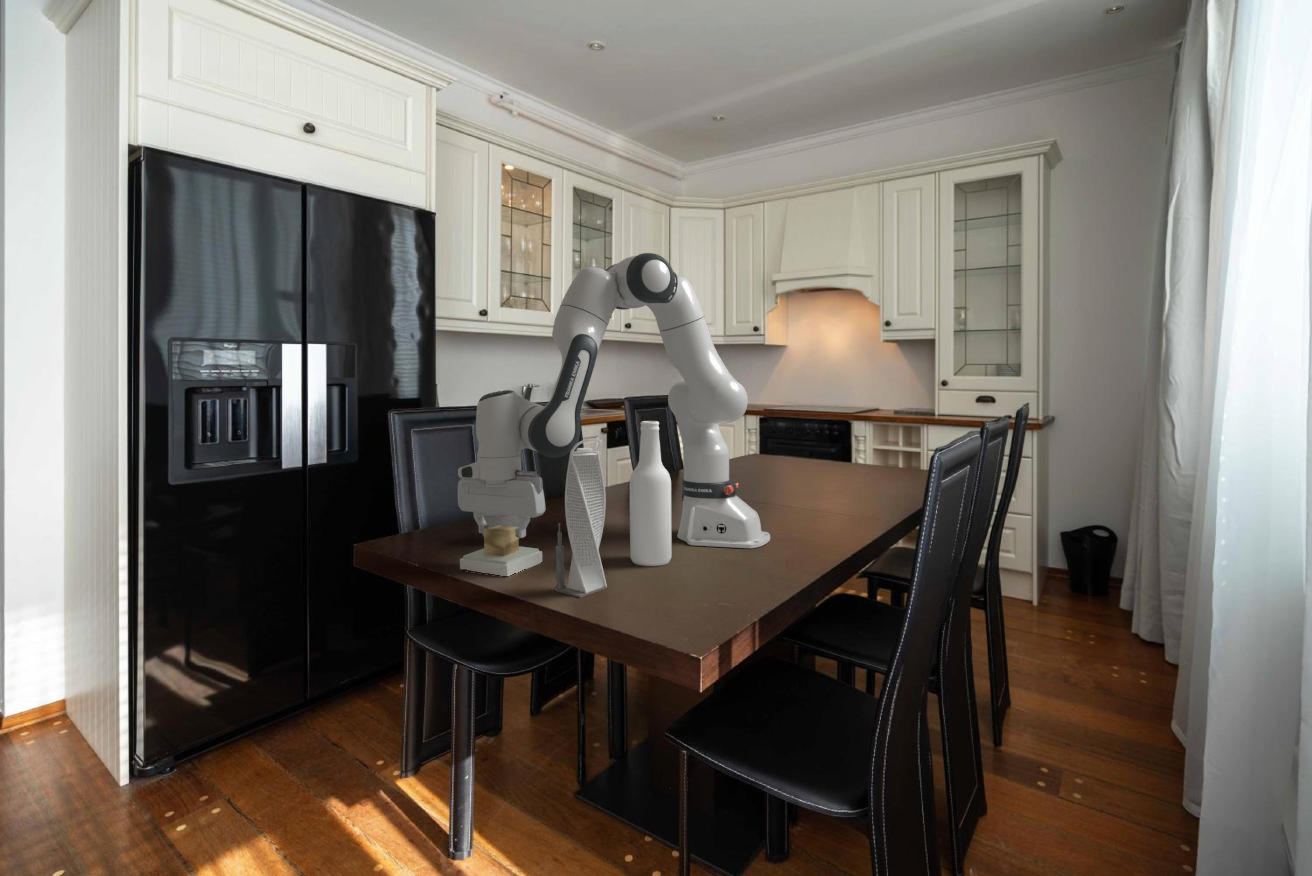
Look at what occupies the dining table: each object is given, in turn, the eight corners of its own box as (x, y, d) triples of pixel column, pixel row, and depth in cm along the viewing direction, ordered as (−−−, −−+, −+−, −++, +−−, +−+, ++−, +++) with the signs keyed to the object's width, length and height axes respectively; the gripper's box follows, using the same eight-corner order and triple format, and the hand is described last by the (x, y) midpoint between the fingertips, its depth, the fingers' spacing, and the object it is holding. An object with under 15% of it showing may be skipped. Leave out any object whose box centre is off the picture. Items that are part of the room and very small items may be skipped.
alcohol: (667, 568, 141) (666, 423, 138) (626, 566, 143) (624, 422, 140) (674, 556, 150) (674, 420, 147) (635, 555, 152) (634, 420, 149)
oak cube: (518, 550, 144) (518, 527, 144) (503, 556, 140) (503, 532, 139) (499, 548, 147) (499, 525, 146) (484, 553, 142) (483, 530, 142)
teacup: (520, 547, 160) (519, 513, 159) (474, 547, 160) (473, 513, 159) (532, 533, 173) (532, 502, 173) (490, 533, 174) (489, 502, 173)
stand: (542, 562, 146) (542, 548, 146) (507, 577, 136) (506, 562, 135) (497, 556, 151) (496, 542, 151) (460, 570, 141) (459, 556, 140)
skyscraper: (586, 579, 134) (583, 437, 131) (616, 587, 129) (614, 439, 126) (553, 590, 127) (550, 440, 125) (584, 599, 122) (581, 443, 119)
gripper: (550, 469, 140) (552, 535, 141) (471, 465, 149) (474, 527, 150) (532, 474, 134) (534, 543, 136) (451, 469, 143) (454, 533, 144)
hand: (502, 534), depth 143 cm, fingers open, 8 cm apart
